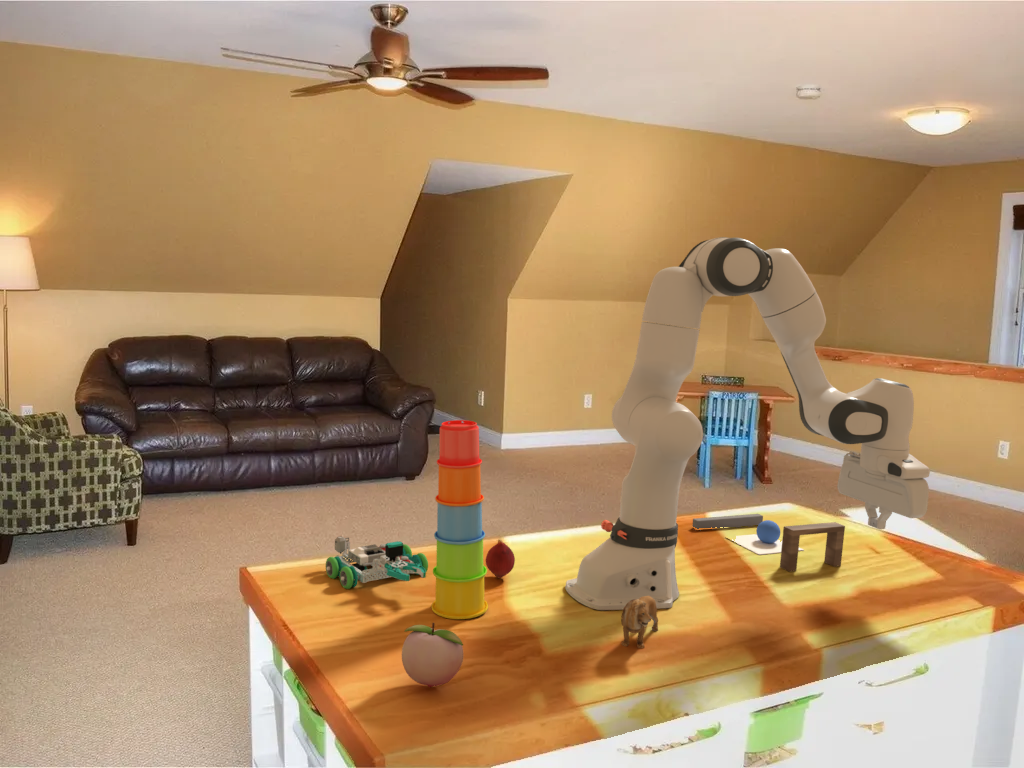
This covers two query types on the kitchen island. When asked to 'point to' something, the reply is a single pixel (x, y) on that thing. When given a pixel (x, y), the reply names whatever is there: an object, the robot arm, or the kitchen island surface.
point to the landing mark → (759, 545)
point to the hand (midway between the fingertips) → (876, 527)
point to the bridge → (793, 533)
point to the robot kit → (374, 562)
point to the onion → (500, 559)
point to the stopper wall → (728, 521)
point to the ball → (768, 531)
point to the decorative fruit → (431, 655)
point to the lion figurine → (638, 618)
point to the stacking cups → (459, 524)
